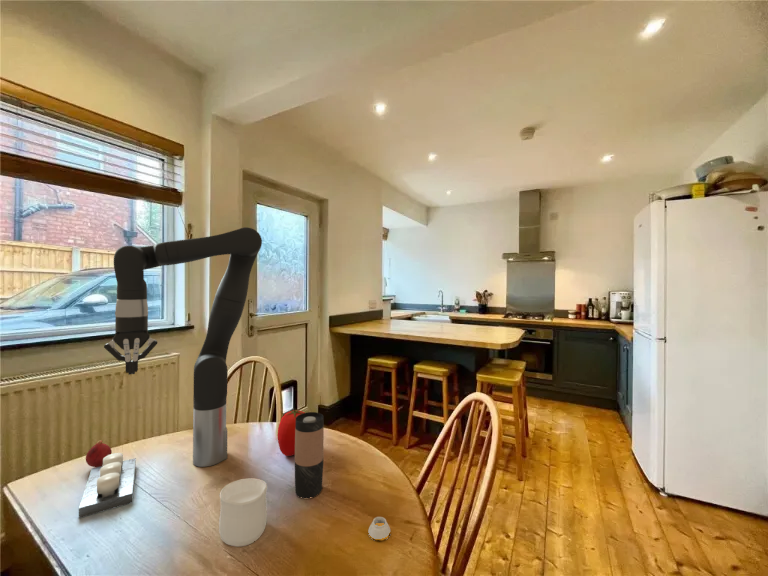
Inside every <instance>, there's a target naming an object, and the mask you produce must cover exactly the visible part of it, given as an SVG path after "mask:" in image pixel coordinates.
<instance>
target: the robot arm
mask: <svg viewBox="0 0 768 576" xmlns="http://www.w3.org/2000/svg"><path fill="white" fill-rule="evenodd" d="M262 245H263V240H262V236H261V234H260V233H259V232H258V231H257V230H256V229H254V228H252V227H241V228H238V229H235V230H231V231H227V232H224V233H220V234H215V235H211V236H209V235H208V236H205V237H203V236H202V237H196V238H195V237H193V238H187V239H178V240H171V241H164V242H159V243H156V244H154V245H148V246H135V245H124V246H120V247H118V248H117V250H116V251H115V253H114V256H113V270H114V275H115V278H116V285H117V286H116V303H115V310H114V311H115V312H114V315H115V331H114V332H115V334H114V336H113V338H112V340H110V341H109V342H107V343H105V344H104V346H103V348H104V350H106V352H107V351H108V353H109V354H110V355H112V356H113V357H114V358H115V359H116V360H117V361H120V362H121V361H122V362H125V373H126V374H128V375H129V376H130V375H135V374H136V373H137V372H138V370H139V361H140V360H142V359H145V358H146V357H147V356H148V354H149V353H150V352H151V351H152V350H153V349H154V348H155V347H156V346H157V344H158V340H157V339H154V338H152V337H151V335H150V333H149V327H148V326H149V306H148V305H149V304H148V284H147V282H146V280H145V277H144V275H145V273H144V272H145V271H146V270H150V269H154V268H159V267H163V266H173V265H178V264H179V265H180V264H185V263H191V262H195V261H198V260H199V261H200V260H204V259H206V258H208V259H209V258H210V257H211V258H212V257H216V256H222V255H223V256H224V255H229V260H228V263H227V267H226V270H225V272H224V274H223V277H222V278H221V280H220V283H219V285H218V287H217V290H216V292H215V295H214V297H213V298H214V299H213V302H212V305H211V310H210V313H209V319H208V324H207V330H206V331H207V332H206V336H205V338H204V339H205V340H204V342H203V344H202V347H201V350H200V351H199V354H198V356H197V359H196V361H195V363H194V365H193V400H192V401H193V409H192V411H193V416H192V417H193V419H192V422H193V423H192V424H193V425H192V426H193V427H192V464H193V465H194V466H195V467H198V468H199V467H200V468H202V467H203V468H204V467H210V466H214V465H217V464H219V463H221V462H222V461H224V460H227V459H228V428H227V398H228V397H227V396H228V379H229V378H228V377H229V376H228V365H227V357H228V350H229V346H230V342H231V340H232V336H233V335H234V333H235V331H236V329H237V327H238V325H239V322H240V321H241V318H242V315H243V311H244V308H245V305H246V300H247V295H248V291H249V285H250V278H251V277H250V276H251V271H252V268H253V265H254V264H255V261H256V258H257V257H258V254H259V252H260V250H261V248H262ZM147 341H148V342H147ZM146 343H147V347H146V348H145V349H144V350H143V351H142V352H141V353H139V352H140V349H142V347H143V346H144V345H145V344H146ZM117 345H118V347H119V348H120V349H121V350H123V354H124V355H123V354H122V353H121V352H119V350H117V348H116V346H117ZM131 350H133V351H132V352H131ZM131 353H132V354H131Z"/></svg>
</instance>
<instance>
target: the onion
mask: <svg viewBox="0 0 768 576" xmlns="http://www.w3.org/2000/svg"><path fill="white" fill-rule="evenodd" d="M112 452H113V451H112V448H111V446H110V445H108V444H106V443H103V440H100V439H99V440H98V441H97V442H96V443H95V444H94V445H93V446H91V448H90V449H89V450H88V451H87V453H86V455H85V463H86V464H87V465H88V466H89V467H92V468H96V467H100V466H103V458H104V457H106V456H108V455H110V454H113V453H112Z"/></svg>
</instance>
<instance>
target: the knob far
mask: <svg viewBox="0 0 768 576" xmlns="http://www.w3.org/2000/svg"><path fill="white" fill-rule="evenodd" d="M123 461H124V454H123V453H122V452H116V453H115V452H114V453H111V454H110V455H108V456H106V457H104V458H103V465H102V466H104V465H107V464H109V463H114V462H120V463H121V466H122V465H123Z"/></svg>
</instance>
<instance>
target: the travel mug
mask: <svg viewBox="0 0 768 576" xmlns="http://www.w3.org/2000/svg"><path fill="white" fill-rule="evenodd" d="M324 417H325V416H324V415H323V414H322V413H320V412H315V411H310V412H309V411H307V412H305V413H303V414H300V415H298V416H297V417H296V423H295V455H294V490H295V491H294V492H295V495H296V496H297V497H298V496H299V497H298V498H300V497H302V498H301V499H304V498H308V499H311V498H310V497H313V498H315V497H317V496H318V495H320V494H321V492H322V489H323V474H324V473H323V472H324V439H325V438H324V422H325V421H324ZM319 493H320V494H319ZM317 494H318V495H317ZM316 495H317V496H316ZM314 496H315V497H314Z"/></svg>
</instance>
